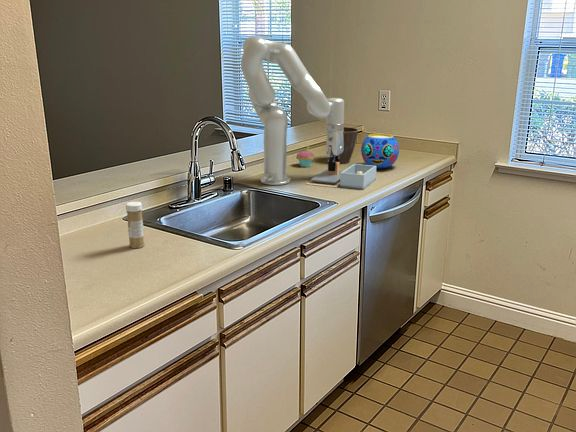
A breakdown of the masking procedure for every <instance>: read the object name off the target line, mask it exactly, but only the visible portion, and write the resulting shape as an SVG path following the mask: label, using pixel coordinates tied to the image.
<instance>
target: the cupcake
mask: <svg viewBox="0 0 576 432" xmlns="http://www.w3.org/2000/svg"><path fill="white" fill-rule="evenodd" d="M309 148H310V142H308V143H307V147H306V150H301V151H299V152H298V153H297V154H296V156H295V158H296V160H298V162H299V165H300V167H301V168H302V167H303V168H309V167H311V166H312V163H313V160H314V159H315V154H314V153H312V151H309Z"/></svg>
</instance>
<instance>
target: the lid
mask: <svg viewBox="0 0 576 432" xmlns="http://www.w3.org/2000/svg"><path fill="white" fill-rule="evenodd" d="M340 166H341V163H340V162H336V166H335V171H328V169H326V170H324V171H322V172H320V173H318V174H317V175H316V176H314V177H312V178H311V179H309V180H310V181H317V182H319V183H328V184H333V183H336V182H338V181H339V180H340V173H341V172H342V171H343V170H340V169H341V168H340ZM310 181H309V182H310Z"/></svg>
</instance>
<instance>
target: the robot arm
mask: <svg viewBox="0 0 576 432" xmlns="http://www.w3.org/2000/svg"><path fill="white" fill-rule="evenodd" d="M242 50H243V52H242V56H241V63H240V67H241V72H242V75H243V77H244V80H245V82H246V85H247V87H248V97H249V99H250V102H251V104H252V106H253V108H254V111H255V112H256V115H257V116H258V119H259V121H260V122H261V123H262V124H263V125H264V127H263V130H264V131H263V175H264V176H263V177H261V178H260V183H261V184H264V185H268V186H269V185H270V186H281V185H287V184H289V183H290V182H291V178H290V177H288V176H287V173H288V172H287V165H288V163H287V157H288V156H287V148H288V147H287V137H288V135H287V132H288V124H289V121H288V115H287V113H286V111H285V110H284V109H282V108H281V107H280V106H278V103H277V102H276V100H275V98H276V92H275V90H274V88H273V86H272V84H271V82H270V80H269V78H268V76H267V73H266V71H265V68H264V65H263V64H264V63H263V62H268V63H273V64H277V65H278V66H279V68H280V70H281V71H282V72H283V74H284V75H285V77H286V79H287V81H288V83H290V85H291V87H293V89H294V90H296V91H297V92H298V93H299V94H300V95H301V96H302V97H303V98H304V100H305V101H306V102H307V104H306V111H308V113H309V114H310V115H312V116H314V117H316V118H318V119H325V132H326V133H327V134H326V140H325V141H326V142H325V143H326V145H325V153H326V157H327V170H328V171H335V166H336V162H340V160H339V159H340V154H341V153H342V152H343V151H344V141H343V131H344V127H345V100H344V99H343V98H340V97H331V98H327V96H326V95H325V94H324V92H323V90H322V89H321V88H320V86H319V85H318V84H317V83H316V81H315V79H314V78H313V77H312V76H311V74H310V73H309V71H308V70H307V68H306V66H304V64H303V62H302V60H301V59H300V57H299V55H298V54H297V52H296V51H295V49H294V48H293V47H292V46H291V45H290V44H289V43H285V42H277V41H272V40H268V39H265V38H262V37H260V36H249V37H248V38H246V39H245V40H244V41H243V45H242ZM331 153H333V155H331ZM332 156H333V157H332Z"/></svg>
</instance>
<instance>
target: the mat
mask: <svg viewBox="0 0 576 432" xmlns="http://www.w3.org/2000/svg"><path fill="white" fill-rule="evenodd" d="M306 185H307V186H316V187H326V188H335V189H336V188H338V187H340V180H339V181H338V182H336V183H333V184H328V183H319V182H317V181H309V182H307V183H306Z"/></svg>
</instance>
